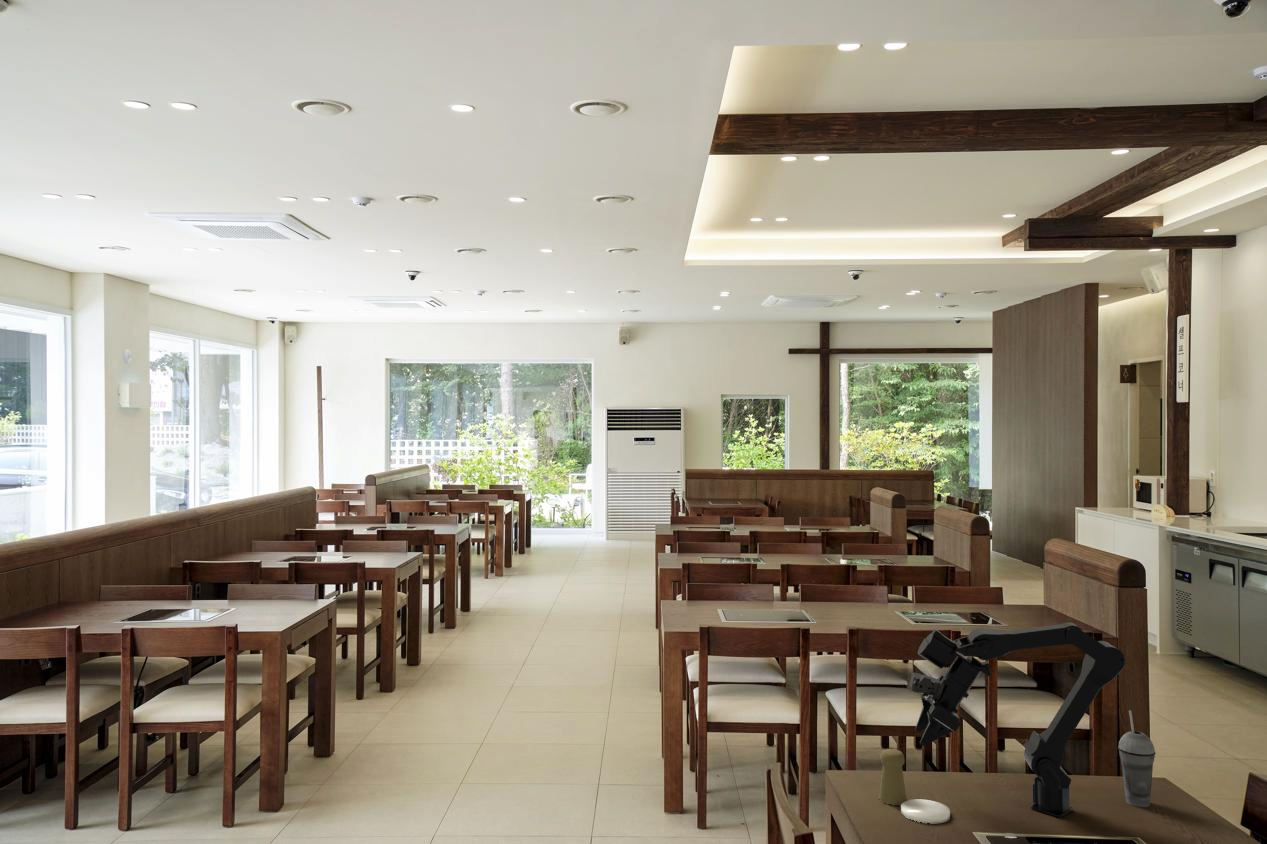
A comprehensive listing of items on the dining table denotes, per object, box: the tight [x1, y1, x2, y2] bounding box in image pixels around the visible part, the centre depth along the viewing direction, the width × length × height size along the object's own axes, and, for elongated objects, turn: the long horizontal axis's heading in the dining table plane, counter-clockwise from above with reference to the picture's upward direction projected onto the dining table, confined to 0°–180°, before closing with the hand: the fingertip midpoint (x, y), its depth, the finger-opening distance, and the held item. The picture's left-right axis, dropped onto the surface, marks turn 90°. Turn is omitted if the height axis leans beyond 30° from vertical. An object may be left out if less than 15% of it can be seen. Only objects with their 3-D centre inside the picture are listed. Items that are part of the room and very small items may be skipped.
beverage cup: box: [1117, 710, 1157, 808], centre depth 200 cm, size 7×7×20 cm
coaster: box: [900, 798, 951, 825], centre depth 195 cm, size 10×10×1 cm
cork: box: [878, 748, 908, 806], centre depth 203 cm, size 6×6×11 cm
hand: (919, 738), depth 202 cm, fingers open, 9 cm apart
